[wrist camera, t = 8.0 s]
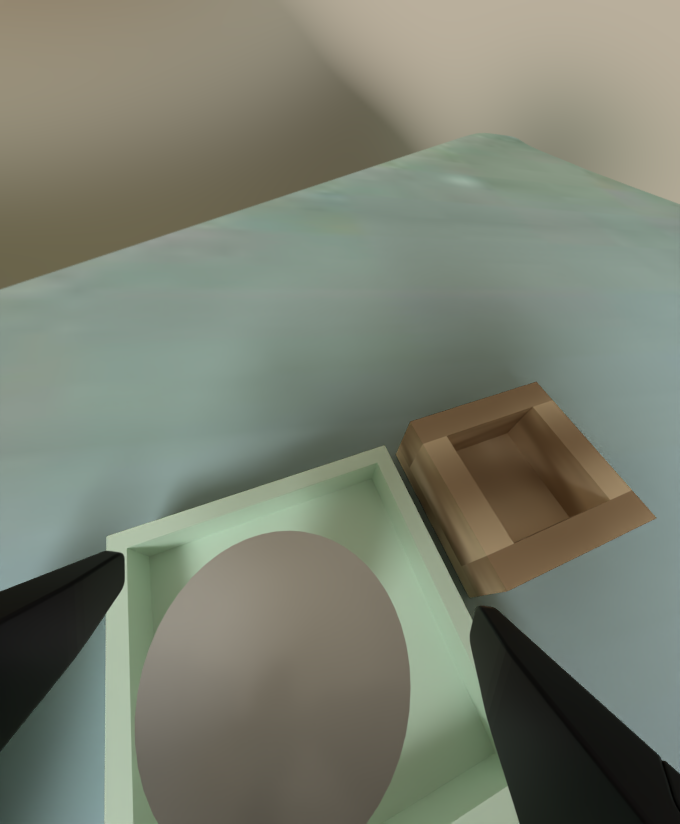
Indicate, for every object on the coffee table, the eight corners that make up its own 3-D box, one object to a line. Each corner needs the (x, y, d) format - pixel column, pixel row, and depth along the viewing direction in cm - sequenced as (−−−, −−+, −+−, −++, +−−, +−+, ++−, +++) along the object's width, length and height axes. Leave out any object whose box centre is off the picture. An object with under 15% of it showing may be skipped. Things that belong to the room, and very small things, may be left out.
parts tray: (514, 762, 13) (559, 794, 11) (157, 991, 10) (102, 1114, 7) (376, 467, 20) (384, 445, 17) (138, 549, 17) (106, 536, 14)
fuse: (368, 654, 14) (466, 696, 5) (287, 737, 13) (214, 1018, 3) (313, 570, 16) (311, 489, 7) (235, 633, 14) (95, 639, 5)
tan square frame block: (595, 537, 18) (656, 518, 15) (469, 598, 16) (507, 591, 13) (504, 417, 22) (536, 381, 19) (395, 454, 20) (410, 421, 17)
